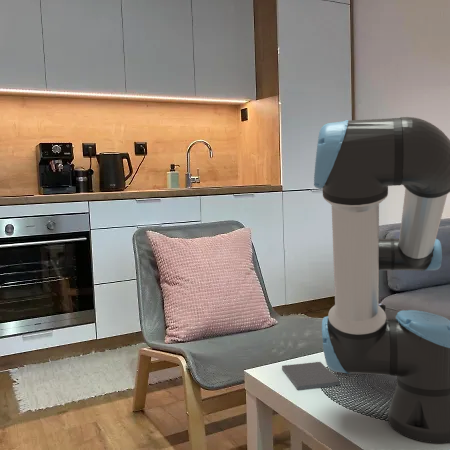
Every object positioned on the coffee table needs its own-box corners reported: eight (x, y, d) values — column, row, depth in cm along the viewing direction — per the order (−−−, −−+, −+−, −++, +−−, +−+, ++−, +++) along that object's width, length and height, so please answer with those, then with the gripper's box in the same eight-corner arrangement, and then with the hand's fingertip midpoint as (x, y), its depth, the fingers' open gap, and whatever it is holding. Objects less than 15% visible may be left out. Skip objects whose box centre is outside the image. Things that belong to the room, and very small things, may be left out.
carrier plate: (340, 385, 127) (340, 381, 127) (297, 390, 125) (297, 386, 125) (320, 365, 141) (320, 361, 141) (282, 369, 139) (281, 365, 139)
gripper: (390, 279, 138) (390, 359, 141) (315, 284, 135) (316, 367, 137) (404, 284, 131) (404, 369, 133) (325, 291, 128) (326, 377, 130)
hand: (360, 368), depth 135 cm, fingers closed on mechanical component, 9 cm apart
